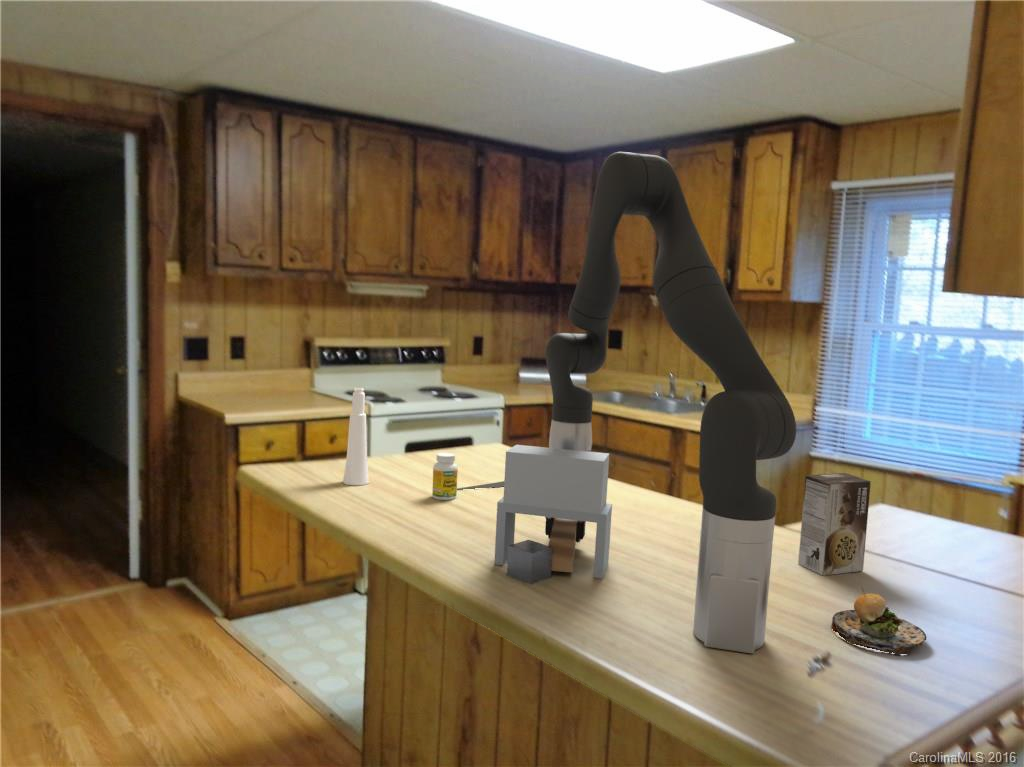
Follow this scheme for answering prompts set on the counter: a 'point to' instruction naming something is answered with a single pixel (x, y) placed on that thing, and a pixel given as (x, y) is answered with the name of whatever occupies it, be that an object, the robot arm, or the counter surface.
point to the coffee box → (834, 523)
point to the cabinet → (555, 494)
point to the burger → (876, 626)
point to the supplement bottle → (445, 477)
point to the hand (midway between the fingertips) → (564, 539)
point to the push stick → (563, 544)
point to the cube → (529, 561)
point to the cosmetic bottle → (357, 443)
